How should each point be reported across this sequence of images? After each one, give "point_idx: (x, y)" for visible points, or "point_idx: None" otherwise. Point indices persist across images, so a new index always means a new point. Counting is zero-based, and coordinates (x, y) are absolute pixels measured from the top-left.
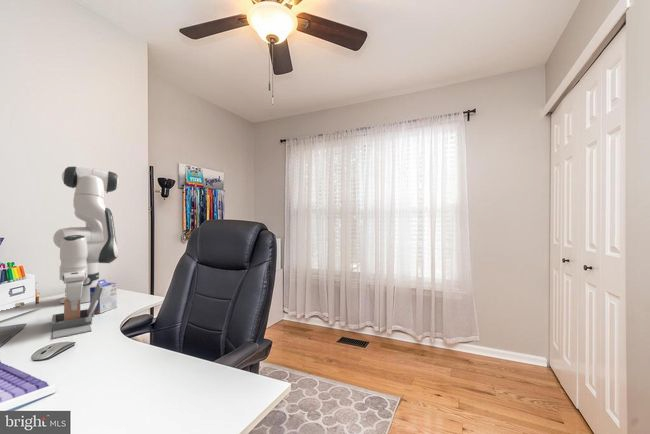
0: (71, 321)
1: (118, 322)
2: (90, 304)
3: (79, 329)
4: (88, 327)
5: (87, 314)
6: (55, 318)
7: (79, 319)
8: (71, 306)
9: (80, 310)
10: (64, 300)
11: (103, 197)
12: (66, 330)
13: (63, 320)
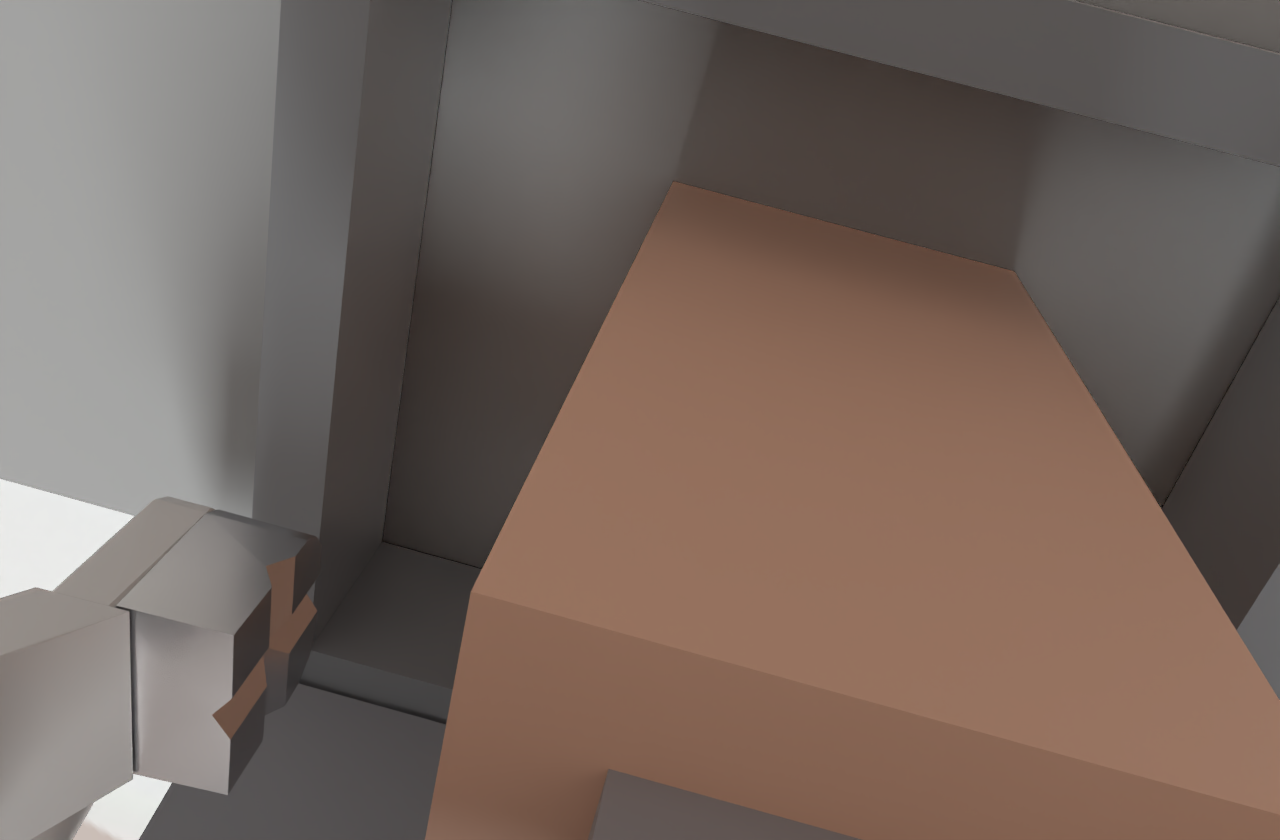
0: (268, 306)
1: (107, 825)
2: None
3: (13, 306)
4: (41, 455)
5: None
6: (975, 81)
7: (257, 472)
8: (63, 583)
9: None
10: (922, 726)
11: None
12: (128, 102)
13: (1264, 329)
